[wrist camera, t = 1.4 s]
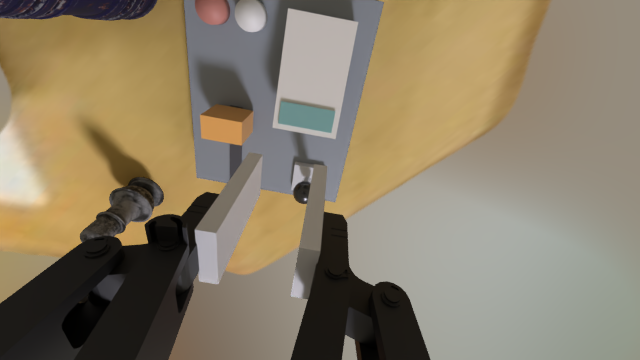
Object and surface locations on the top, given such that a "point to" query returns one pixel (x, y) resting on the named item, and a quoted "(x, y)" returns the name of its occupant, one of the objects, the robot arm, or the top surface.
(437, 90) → the top surface
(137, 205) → the chess piece
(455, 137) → the top surface
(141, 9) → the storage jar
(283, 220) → the top surface
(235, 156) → the panel
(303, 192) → the toggle
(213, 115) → the slider
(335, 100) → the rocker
